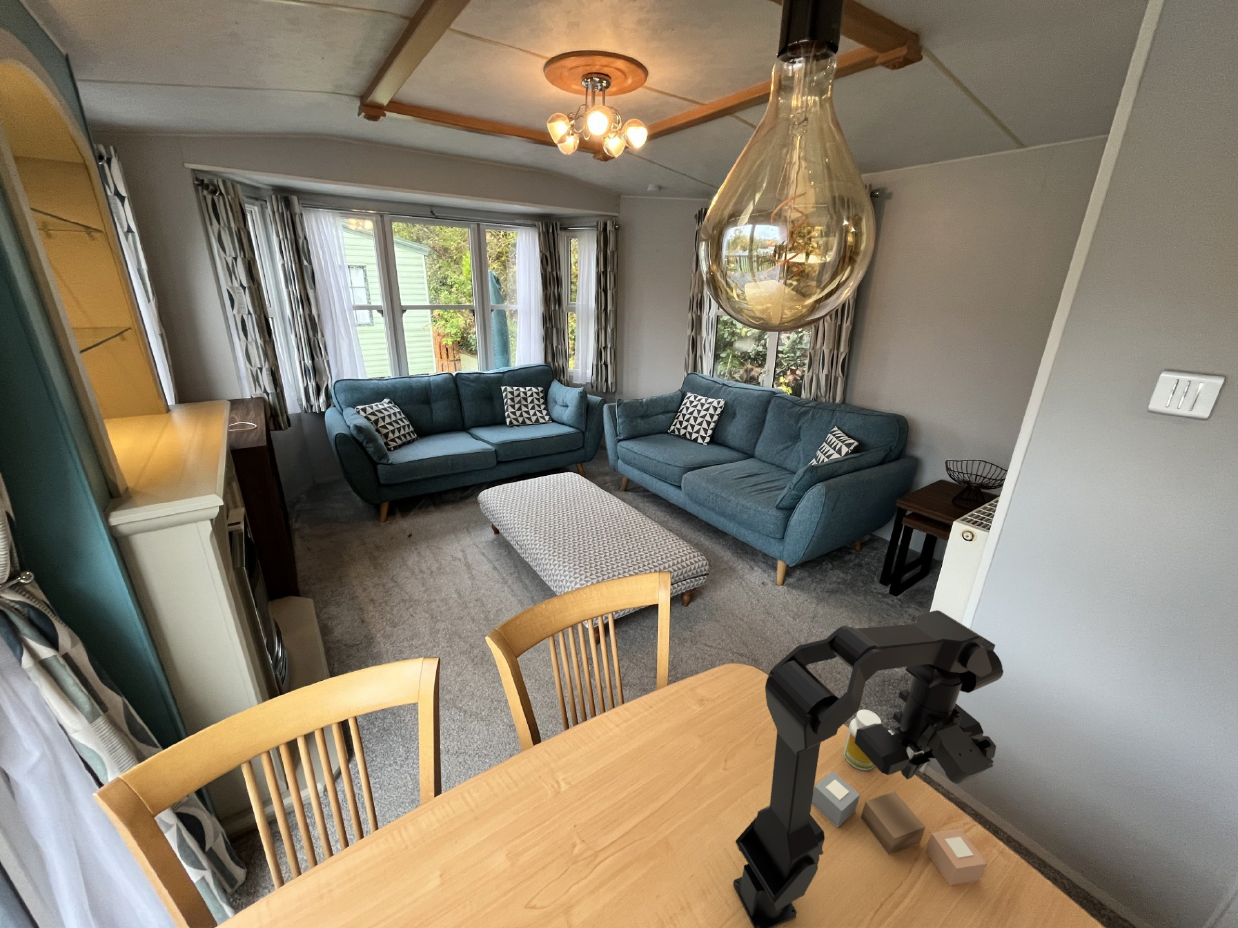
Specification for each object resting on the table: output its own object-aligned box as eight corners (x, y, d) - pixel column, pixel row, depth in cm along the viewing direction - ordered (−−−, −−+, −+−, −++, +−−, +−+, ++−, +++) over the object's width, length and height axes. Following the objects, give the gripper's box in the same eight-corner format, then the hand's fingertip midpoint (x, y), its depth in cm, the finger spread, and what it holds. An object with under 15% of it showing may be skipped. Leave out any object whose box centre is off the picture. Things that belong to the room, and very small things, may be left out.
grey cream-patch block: (837, 828, 82) (841, 809, 80) (810, 802, 85) (814, 784, 84) (855, 811, 84) (860, 793, 83) (828, 787, 88) (833, 769, 87)
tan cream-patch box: (949, 886, 74) (956, 867, 73) (925, 850, 79) (931, 831, 77) (979, 881, 75) (987, 862, 73) (953, 845, 80) (960, 827, 78)
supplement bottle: (878, 774, 91) (889, 733, 87) (846, 768, 92) (856, 727, 88) (870, 748, 96) (881, 708, 92) (840, 743, 97) (849, 703, 93)
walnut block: (888, 855, 78) (894, 838, 77) (860, 818, 83) (865, 801, 82) (919, 844, 80) (925, 826, 78) (889, 808, 85) (894, 791, 84)
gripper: (931, 763, 62) (902, 849, 67) (1036, 724, 68) (1002, 806, 73) (862, 695, 72) (842, 775, 77) (959, 667, 77) (934, 743, 83)
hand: (906, 775), depth 77 cm, fingers closed
